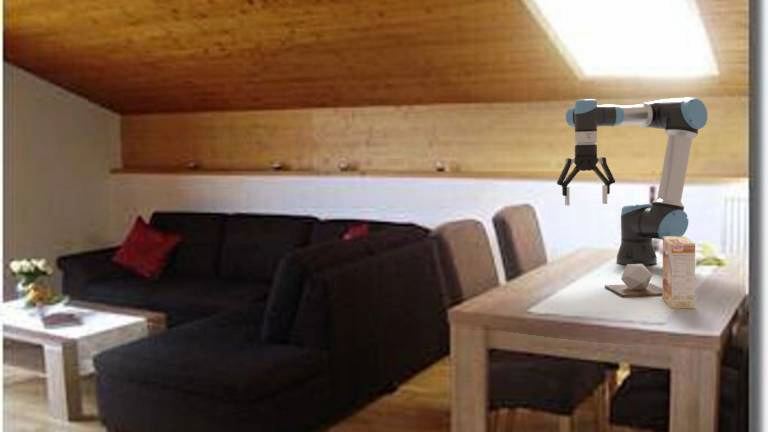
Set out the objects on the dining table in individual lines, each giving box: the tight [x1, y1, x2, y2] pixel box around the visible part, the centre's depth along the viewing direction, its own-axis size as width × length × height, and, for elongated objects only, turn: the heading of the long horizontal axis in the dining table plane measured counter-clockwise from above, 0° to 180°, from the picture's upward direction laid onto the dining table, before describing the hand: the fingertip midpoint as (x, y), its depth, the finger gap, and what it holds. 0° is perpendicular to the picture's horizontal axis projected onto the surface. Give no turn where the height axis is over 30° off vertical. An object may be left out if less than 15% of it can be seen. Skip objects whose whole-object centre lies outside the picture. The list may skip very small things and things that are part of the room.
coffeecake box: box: [661, 236, 696, 309], centre depth 244 cm, size 15×7×20 cm, turn 170°
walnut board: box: [604, 282, 663, 298], centre depth 263 cm, size 16×16×1 cm
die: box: [620, 264, 653, 290], centre depth 263 cm, size 8×9×10 cm
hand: (586, 204), depth 284 cm, fingers open, 13 cm apart
